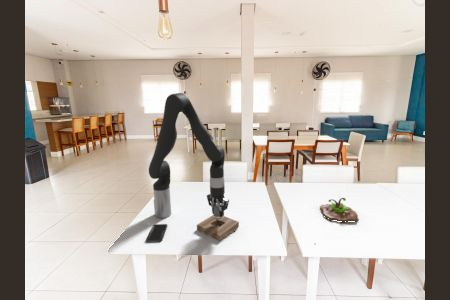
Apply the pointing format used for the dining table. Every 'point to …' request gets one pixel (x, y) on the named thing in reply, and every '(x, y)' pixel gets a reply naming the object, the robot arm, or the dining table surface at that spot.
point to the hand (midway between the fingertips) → (218, 214)
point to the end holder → (215, 232)
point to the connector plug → (217, 212)
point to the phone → (157, 233)
